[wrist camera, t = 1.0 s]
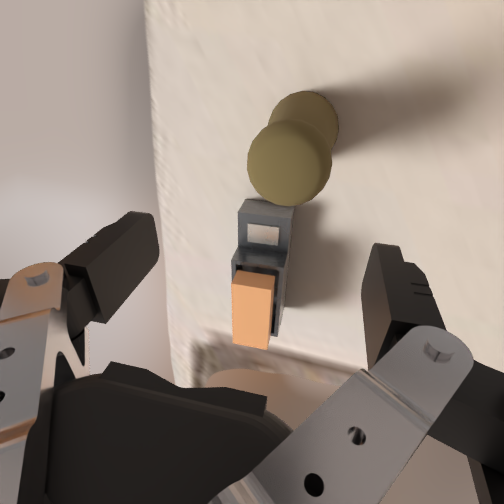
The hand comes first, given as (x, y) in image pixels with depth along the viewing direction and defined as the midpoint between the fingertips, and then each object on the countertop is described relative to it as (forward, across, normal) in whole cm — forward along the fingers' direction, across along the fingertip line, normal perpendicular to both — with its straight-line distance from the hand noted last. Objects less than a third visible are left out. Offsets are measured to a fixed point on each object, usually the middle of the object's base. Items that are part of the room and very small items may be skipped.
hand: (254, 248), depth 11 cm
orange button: (+13, +2, +15) cm, 20 cm away
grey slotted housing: (+19, +2, +14) cm, 24 cm away
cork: (+19, 0, 0) cm, 19 cm away
